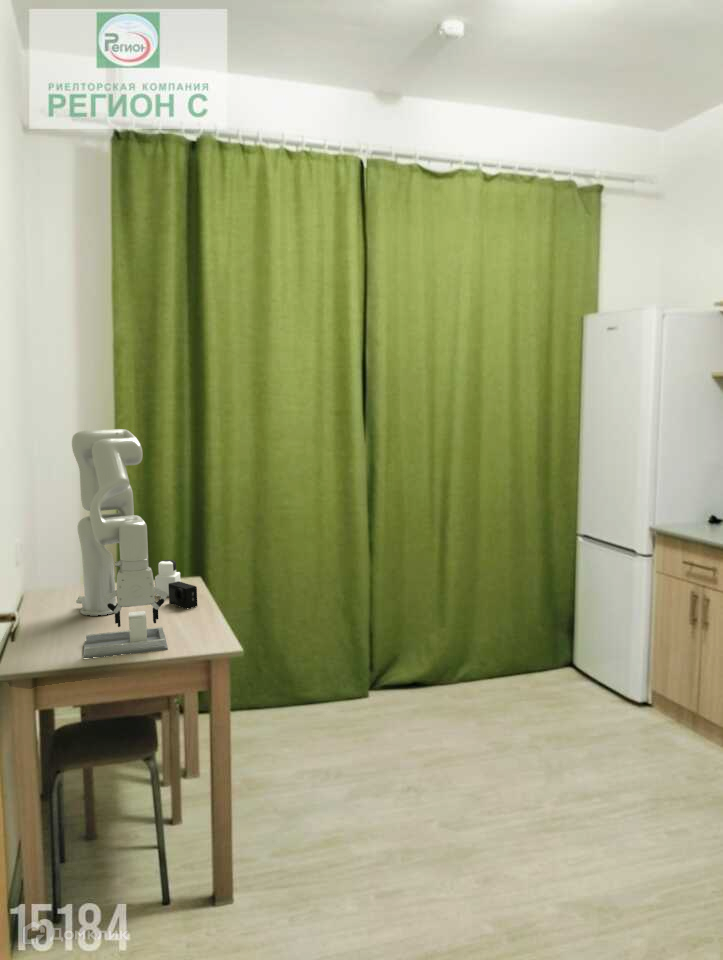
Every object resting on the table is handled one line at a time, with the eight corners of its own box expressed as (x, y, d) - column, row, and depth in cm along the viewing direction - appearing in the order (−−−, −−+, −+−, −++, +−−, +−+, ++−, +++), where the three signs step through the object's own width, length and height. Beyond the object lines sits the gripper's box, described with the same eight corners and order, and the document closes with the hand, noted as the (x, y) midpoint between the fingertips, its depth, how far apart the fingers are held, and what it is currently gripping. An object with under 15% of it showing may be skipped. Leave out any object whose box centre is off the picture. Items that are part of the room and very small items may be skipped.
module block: (130, 647, 210) (129, 619, 209) (129, 639, 216) (128, 612, 215) (147, 645, 211) (146, 617, 210) (146, 637, 218) (145, 611, 217)
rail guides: (85, 656, 203) (84, 648, 203) (86, 641, 215) (86, 634, 215) (165, 646, 210) (165, 639, 210) (162, 633, 221) (162, 626, 221)
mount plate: (83, 659, 202) (83, 657, 202) (84, 643, 216) (84, 640, 216) (167, 649, 209) (167, 647, 209) (164, 634, 222) (164, 632, 222)
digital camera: (165, 604, 254) (164, 584, 253) (179, 600, 258) (178, 580, 257) (183, 610, 247) (182, 589, 246) (197, 606, 251) (196, 586, 250)
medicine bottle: (161, 591, 270) (159, 558, 269) (181, 591, 270) (179, 558, 268) (155, 596, 263) (153, 563, 262) (175, 596, 263) (174, 563, 261)
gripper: (101, 570, 205) (104, 631, 207) (167, 565, 210) (169, 624, 212) (101, 564, 212) (104, 622, 214) (165, 559, 217) (167, 616, 219)
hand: (137, 623), depth 213 cm, fingers open, 9 cm apart
